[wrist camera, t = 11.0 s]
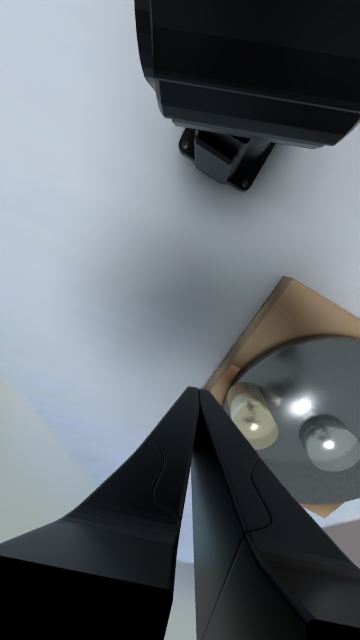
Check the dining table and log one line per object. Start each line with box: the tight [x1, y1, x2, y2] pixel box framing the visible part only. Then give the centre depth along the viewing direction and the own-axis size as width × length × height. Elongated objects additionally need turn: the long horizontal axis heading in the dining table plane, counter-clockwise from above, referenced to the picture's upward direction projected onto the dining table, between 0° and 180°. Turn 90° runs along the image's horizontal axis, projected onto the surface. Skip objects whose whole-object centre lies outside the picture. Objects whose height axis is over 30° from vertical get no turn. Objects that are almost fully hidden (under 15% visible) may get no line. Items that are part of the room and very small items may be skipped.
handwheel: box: [221, 334, 360, 505], centre depth 18 cm, size 18×18×6 cm
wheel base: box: [203, 276, 360, 518], centre depth 22 cm, size 20×20×2 cm
